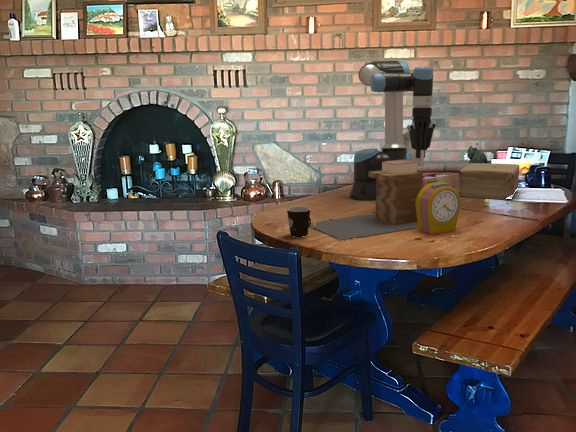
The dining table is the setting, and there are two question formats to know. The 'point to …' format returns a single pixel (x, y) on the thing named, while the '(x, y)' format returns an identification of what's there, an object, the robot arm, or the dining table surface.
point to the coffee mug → (299, 221)
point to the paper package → (488, 180)
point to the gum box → (436, 179)
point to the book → (399, 166)
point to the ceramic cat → (476, 155)
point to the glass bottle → (409, 146)
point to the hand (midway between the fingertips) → (420, 166)
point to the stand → (397, 196)
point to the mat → (360, 226)
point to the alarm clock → (437, 208)
